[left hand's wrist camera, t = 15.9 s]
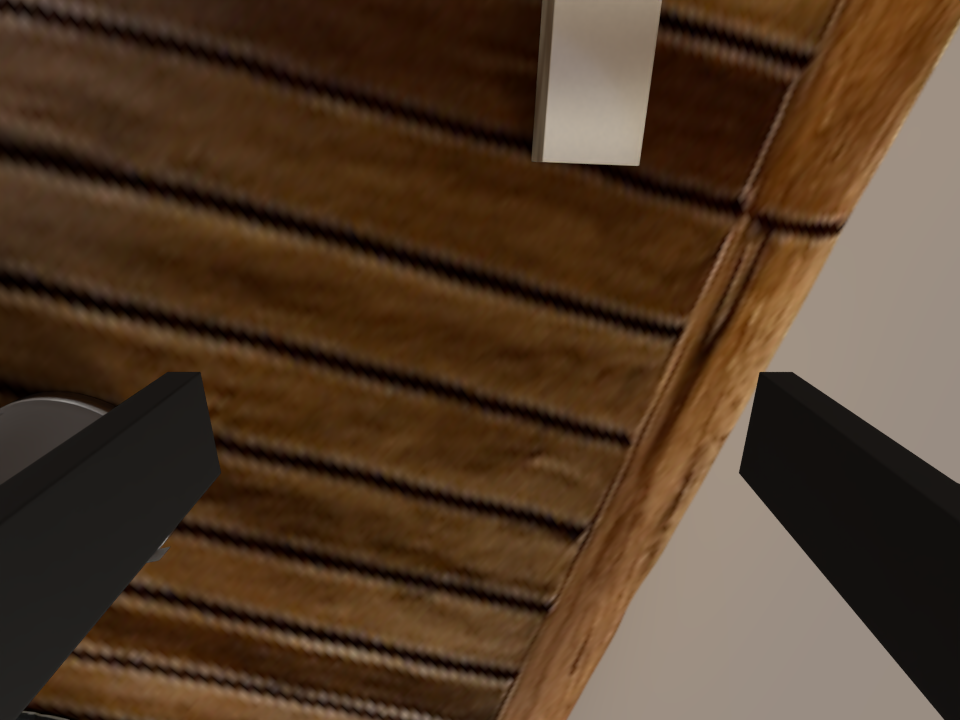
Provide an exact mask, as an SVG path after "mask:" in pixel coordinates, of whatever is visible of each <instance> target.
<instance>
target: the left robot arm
mask: <svg viewBox="0 0 960 720" xmlns="http://www.w3.org/2000/svg"><path fill="white" fill-rule="evenodd" d="M220 474H221V471H220V466H219V461H218V456H217V451H216V446H215V441H214V436H213V431H212V427H211V422H210V417H209V412H208V407H207V402H206V397H205V392H204V387H203V383H202V378H201V373H200V372H167V373H166V374H164V375H163V376H161V377H160V378H158V379H157V380H155V381H154V382H152V383H151V384H149V385H148V386H146V387H145V388H143V389H142V390H140V391H139V392H137V393H136V394H134V395H133V396H131V397H130V398H129V399H127V400H126V401H124V402H123V403H121V404H120V405H118V406H117V407H115V406H113V405H111V404H109V403H107V402H104V401H102V400H99V399H96V398H93V397H90V396H86V395H82V394H77V393H71V392H42V393H36V394H32V395H28V396H25V397H22V398H20V399H18V400H16V401H14V402H12V403H10V404H8V405H6V406H4V407H2V408H0V720H16V719H17V717H18V716H19V715H20V714H21V713H22V711H23V710H24V709H25V708H26V707H27V705H28V704H29V703H30V702H31V701H32V699H33V698H34V697H35V696H36V695H37V693H38V692H39V691H40V690H41V689H42V687H43V686H44V685H45V684H46V683H47V681H48V680H49V679H50V678H51V677H52V675H53V674H54V673H55V672H56V671H57V669H58V668H59V667H60V666H61V665H62V663H63V662H64V661H65V660H66V659H67V657H68V656H69V655H70V654H71V653H72V651H73V650H74V649H75V648H76V647H77V645H78V644H79V643H80V642H81V641H82V639H83V638H84V637H85V636H86V635H87V633H88V632H89V631H90V630H91V629H92V627H93V626H94V625H95V624H96V623H97V621H98V620H99V619H100V618H101V617H102V615H103V614H104V613H105V612H106V611H107V609H108V608H109V607H110V606H111V605H112V603H113V602H114V601H115V600H116V598H117V597H118V596H119V595H120V594H121V592H122V591H123V590H124V589H125V588H126V586H127V585H128V584H129V583H130V582H131V580H132V579H133V578H134V577H135V576H136V574H137V573H138V572H139V571H140V570H141V568H142V567H143V566H144V565H145V564H146V563H148V562H153V561H158V560H160V559H161V557H162V556H163V555H164V554H165V553H166V552H167V550H168V549H169V548H170V547H167V548H162V549H159V548H160V547H161V546H162V545H163V544H164V543H165V541H166V540H167V539H168V538H169V537H170V536H171V534H172V533H173V532H174V530H175V529H176V527H177V525H178V524H179V523H180V522H181V520H182V519H183V518H184V517H185V516H186V514H187V513H188V512H189V511H190V510H191V508H192V507H193V506H194V505H195V504H196V502H197V501H198V500H199V499H200V498H201V496H202V495H203V494H204V493H205V492H206V490H207V489H208V488H209V487H210V486H211V484H212V483H213V482H214V481H215V480H216V478H217V477H218V476H219V475H220ZM739 474H740V475H741V476H742V477H743V478H744V480H745V481H746V482H747V483H748V484H749V486H750V487H751V488H752V489H753V490H754V492H755V493H756V494H757V495H758V496H759V498H760V499H761V500H762V501H763V502H764V504H765V505H766V506H767V507H768V508H769V510H770V511H771V512H772V513H773V514H774V516H775V517H776V518H777V519H778V520H779V522H780V523H781V524H782V525H783V526H784V528H785V529H786V530H787V531H788V532H789V534H790V535H791V536H792V537H793V538H794V540H795V541H796V542H797V543H798V544H799V546H800V547H801V548H802V549H803V550H804V552H805V553H806V554H807V555H808V556H809V558H810V559H811V560H812V561H813V562H814V564H815V565H816V566H817V567H818V568H819V570H820V571H821V572H822V573H823V574H824V576H825V577H826V578H827V579H828V580H829V582H830V583H831V584H832V585H833V586H834V588H835V589H836V590H837V591H838V592H839V594H840V595H841V596H842V597H843V598H844V600H845V601H846V602H847V603H848V605H849V606H850V607H851V608H852V609H853V610H854V612H855V613H856V614H857V615H858V617H859V618H860V619H861V620H862V621H863V622H864V624H865V625H866V626H867V627H868V629H869V630H870V631H871V632H872V633H873V635H874V636H875V637H876V638H877V639H878V641H879V642H880V643H881V644H882V645H883V647H884V648H885V649H886V650H887V651H888V652H889V654H890V655H891V656H892V657H893V659H894V660H895V661H896V662H897V663H898V664H899V666H900V667H901V668H902V669H903V671H904V672H905V673H906V674H907V675H908V677H909V678H910V679H911V680H912V681H913V683H914V684H915V685H916V686H917V687H918V689H919V690H920V691H921V692H922V693H923V695H924V696H925V697H926V698H927V699H928V701H929V702H930V703H931V704H932V705H933V707H934V708H935V709H936V710H937V711H938V713H939V714H940V715H941V716H942V717H943V719H944V720H960V484H958V483H956V482H955V481H953V480H952V479H950V478H949V477H947V476H946V475H944V474H943V473H941V472H940V471H938V470H937V469H935V468H934V467H932V466H931V465H929V464H928V463H926V462H925V461H923V460H922V459H921V458H919V457H918V456H916V455H915V454H913V453H912V452H910V451H909V450H907V449H906V448H904V447H903V446H901V445H900V444H898V443H897V442H895V441H894V440H892V439H891V438H889V437H888V436H886V435H885V434H883V433H882V432H880V431H879V430H878V429H876V428H875V427H873V426H872V425H870V424H869V423H867V422H866V421H864V420H862V419H861V418H860V417H858V416H857V415H855V414H854V413H852V412H851V411H849V410H848V409H846V408H845V407H843V406H842V405H840V404H839V403H837V402H836V401H834V400H833V399H831V398H830V397H829V396H827V395H826V394H824V393H823V392H821V391H820V390H818V389H817V388H815V387H814V386H812V385H811V384H809V383H808V382H806V381H805V380H803V379H802V378H800V377H799V376H797V375H796V374H794V373H793V372H760V373H759V378H758V383H757V387H756V392H755V397H754V402H753V407H752V412H751V417H750V422H749V427H748V431H747V437H746V441H745V446H744V451H743V456H742V461H741V466H740V470H739Z"/></svg>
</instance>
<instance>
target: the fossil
mask: <svg viewBox="0 0 960 720" xmlns="http://www.w3.org/2000/svg"><path fill="white" fill-rule="evenodd" d="M16 720H68V719H65V718H60V717H56V716H51V715H43V714H39V713H36V712H29V711H22V713H21V714H20V715H19V716H18V717H17V719H16Z"/></svg>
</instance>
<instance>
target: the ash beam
mask: <svg viewBox="0 0 960 720" xmlns="http://www.w3.org/2000/svg"><path fill="white" fill-rule="evenodd" d="M661 3H662V0H542V15H541V30H540V44H539V59H538V73H537V88H536V102H535V117H534V132H533V146H532V161H534V162H557V163H582V164H606V165H631V166H639V163H640V155H641V148H642V141H643V134H644V126H645V119H646V112H647V105H648V98H649V90H650V83H651V76H652V69H653V61H654V54H655V47H656V40H657V32H658V25H659V18H660V11H661Z"/></svg>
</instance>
